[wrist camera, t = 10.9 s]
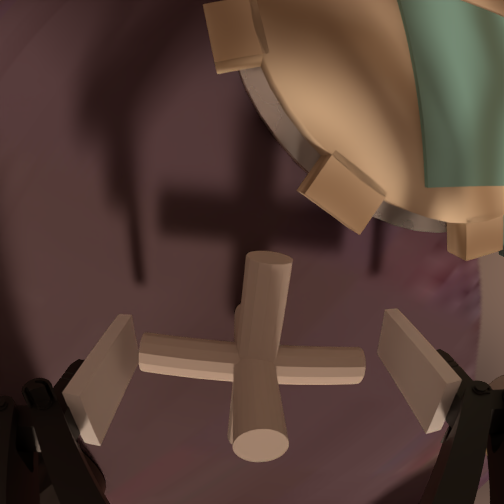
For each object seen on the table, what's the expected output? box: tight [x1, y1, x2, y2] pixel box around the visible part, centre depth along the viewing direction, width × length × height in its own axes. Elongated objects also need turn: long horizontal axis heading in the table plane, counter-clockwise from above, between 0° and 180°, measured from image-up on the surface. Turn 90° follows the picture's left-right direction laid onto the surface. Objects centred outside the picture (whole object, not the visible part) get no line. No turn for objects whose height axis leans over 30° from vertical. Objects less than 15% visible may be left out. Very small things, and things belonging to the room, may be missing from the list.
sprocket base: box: [238, 67, 504, 257], centre depth 14 cm, size 24×26×1 cm
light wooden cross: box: [139, 251, 366, 462], centre depth 14 cm, size 10×10×10 cm
